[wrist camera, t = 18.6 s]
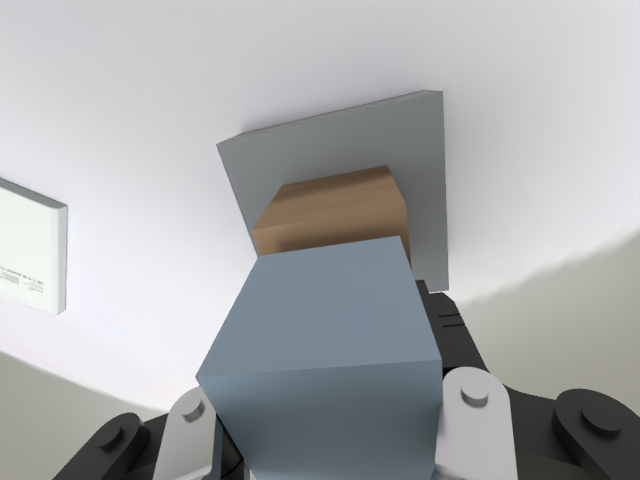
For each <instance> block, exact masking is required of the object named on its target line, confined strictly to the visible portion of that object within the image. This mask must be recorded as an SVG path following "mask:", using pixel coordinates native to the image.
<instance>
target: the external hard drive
mask: <svg viewBox="0 0 640 480" xmlns="http://www.w3.org/2000/svg"><path fill="white" fill-rule="evenodd" d="M66 247H67V205H64V204H62V203H60V202H57V201H55V200H52V199H50V198H47V197H45V196H42V195H40V194H38V193H35V192H33V191H30V190H28V189H25V188H23V187H21V186H18V185H16V184H13V183H11V182H8V181H6V180H4V179H1V178H0V296H3V297H6V298H8V299H11V300H14V301H16V302H19V303H22V304H24V305H27V306H30V307H32V308H35V309H38V310H41V311H43V312H46V313H49V314H52V315H59V314H60V313H61V312H63V311H64V310H65V298H66Z"/></svg>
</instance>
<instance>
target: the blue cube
mask: <svg viewBox="0 0 640 480" xmlns="http://www.w3.org/2000/svg"><path fill="white" fill-rule="evenodd" d="M195 377H196V379H197V381H198V383H199V384H200V386H201V388H202V389H203V391H204V393H205V394H206V396H207V398H208V399H209V401H210V403H211V404H212V406H213V408H214V409H215V411H216V413H217V414H218V416H219V418H220V419H221V421H222V423H223V424H224V426H225V428H226V429H227V431H228V433H229V434H230V436H231V438H232V439H233V441H234V443H235V444H236V446H237V448H238V449H239V451H240V453H241V454H242V456H243V458H244V459H245V461H246V463H247V464H248V466H249V468H250V469H251V471H252V473H253V474H254V476H255V478H256V479H257V480H430V479H431V475H432V473H433V471H434V465H435V455H436V445H437V434H438V424H439V413H440V403H441V402H443V378H442V358H441V355H440V353H439V350H438V347H437V344H436V341H435V338H434V335H433V332H432V329H431V326H430V323H429V320H428V317H427V315H426V312H425V309H424V306H423V303H422V300H421V297H420V294H419V291H418V288H417V285H416V282H415V279H414V277H413V274H412V271H411V268H410V265H409V262H408V259H407V256H406V253H405V250H404V247H403V244H402V241H401V239H400V236H393V237H386V238H379V239H372V240H366V241H359V242H352V243H345V244H338V245H331V246H324V247H317V248H310V249H303V250H297V251H290V252H283V253H276V254H269V255H262V256H259V257H258V259H257V261H256V263H255V265H254V266H253V268H252V270H251V272H250V274H249V276H248V278H247V280H246V282H245V284H244V285H243V287H242V289H241V291H240V293H239V295H238V297H237V299H236V301H235V303H234V304H233V306H232V308H231V310H230V312H229V314H228V316H227V318H226V320H225V321H224V323H223V325H222V327H221V329H220V331H219V333H218V335H217V337H216V339H215V340H214V342H213V344H212V346H211V348H210V350H209V352H208V354H207V356H206V358H205V359H204V361H203V363H202V365H201V367H200V369H199V371H198V373H197V375H196V376H195Z"/></svg>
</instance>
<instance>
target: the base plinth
mask: <svg viewBox="0 0 640 480" xmlns="http://www.w3.org/2000/svg"><path fill="white" fill-rule="evenodd" d="M216 145H217V148H218V151H219V154H220V156H221V159H222V162H223V164H224V167H225V170H226V173H227V175H228V178H229V181H230V183H231V186H232V189H233V192H234V194H235V197H236V200H237V202H238V205H239V208H240V211H241V213H242V216H243V219H244V221H245V224H246V227H247V230H248V232H249V235H250V238H251V240H252V243H253V246H254V249H255V251H256V254H257V257H259V256H261V255H260V252H259V249H258V246H257V244H256V241H255V238H254V235H253V232H252V229H253V227H254V226H255V225H256V223H257V222H258V220H259V219H260V217H261V216H262V214H263V213H264V211H265V210H266V208H267V207H268V205H269V204H270V202H271V201H272V200H273V198H274V197H275V195H276V194H277V192H278V191H279V189H280V188H281V186H282V185H287V184H292V183H297V182H302V181H307V180H312V179H318V178H323V177H328V176H333V175H338V174H343V173H349V172H354V171H359V170H364V169H369V168H374V167H380V166H385V165H387V166H388V169H389V171H390V173H391V175H392V177H393V179H394V181H395V183H396V185H397V187H398V189H399V191H400V193H401V195H402V197H403V199H404V202H405V204H406V212H407V223H408V233H409V244H410V255H411V266H412V274H413V277H414V279H415V280H424V281H425V284H426V286H427V289H428V291H429V292H437V291H445V290H449V281H448V248H447V216H446V183H445V151H444V118H443V91H426V90H423V91H419V92H415V93H411V94H407V95H402V96H398V97H394V98H390V99H386V100H381V101H377V102H373V103H369V104H364V105H360V106H356V107H352V108H348V109H343V110H339V111H335V112H331V113H327V114H322V115H318V116H314V117H310V118H305V119H301V120H297V121H293V122H289V123H284V124H280V125H276V126H272V127H267V128H263V129H259V130H255V131H251V132H246V133H242V134H239V135H237V136H234V137H232V138H230V139H227V140H225V141H223V142H220V143H218V144H216Z"/></svg>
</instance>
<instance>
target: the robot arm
mask: <svg viewBox="0 0 640 480" xmlns="http://www.w3.org/2000/svg"><path fill="white" fill-rule="evenodd" d="M415 282H416V285H417V288H418V291H419V294H420V297H421V300H422V303H423V306H424V309H425V312H426V315H427V317H428V320H429V323H430V326H431V329H432V332H433V335H434V338H435V341H436V344H437V347H438V350H439V353H440V355H441V358H442V378H443V402H441V403H440V413H439V424H438V434H437V445H436V455H435V465H434V471H433V473H432V475H431V479H430V480H640V417H639V416H638V415H636V414H635V413H634V412H633V411H632V410H630V409H629V408H628V407H626V406H625V405H624V404H622V403H620V402H619V401H617V400H615V399H613V398H611V397H609V396H607V395H605V394H602V393H599V392H596V391H592V390H588V389H571V390H567V391H564V392H562V393H561V394H560V395H559V396H558V397H557V399H556V400H553V399H548V398H543V397H538V396H534V395H529V394H525V393H522V392H518V391H516V390H513V389H511V388H509V387H507V386H505V385H504V384H502V383H501V382H500V381H499V380H498V379H497V378H496V377H494V376H493V375H492V374H491V373H490V372H489V371H488V369H487V368H486V366H485V364H484V362H483V360H482V358H481V356H480V354H479V352H478V350H477V348H476V346H475V344H474V341H473V339H472V337H471V335H470V334H469V331H468V329H467V327H466V326H465V323H464V321H463V319H462V317H461V316H460V313H459V311H458V309H457V307H456V305H455V303H454V301H453V300H451V299H450V298H449V297H448V296H447V295H445V294H444V293H443V292H440V293H431V294H429V291H428V289H427V286H426V284H425V281H424V280H415ZM52 480H250V468H249V466H248V464H247V463H246V461H245V459H244V458H243V456H242V454H241V453H240V451H239V449H238V448H237V446H236V444H235V443H234V441H233V439H232V438H231V436H230V434H229V433H228V431H227V429H226V428H225V426H224V424H223V423H222V421H221V419H220V418H219V416H218V414H217V413H216V411H215V409H214V408H213V406H212V404H211V403H210V401H209V399H208V398H207V396H206V394H205V393H204V391H203V389H202V388H201V386H200V385H199V387H196V388H194V389H191V390H190V391H188V392H186V393H185V394H184V395H183V396H181V397H180V398H179V399H178V400H177V401H176V403H175V404H174V405H173V407H172V408H171V410H170V412H169V413H167V414H164V415H162V416H159V417H157V418H154V419H151V420H149V421H146V422H142V421H141V419H140V418H139V417H138V416H137V415H136V414H134V413H125V414H121V415H119V416H117V417H115V418H113V419H111V420H110V421H108V422H107V423H106V424H104V425H103V426H102V427H101V428H100V429H99V430H98V431H97V432H96V433H95V434H94V435H93V436H92V437H91V438H90V439H89V440H88V442H87V443H86V444H85V445H84V446H83V447H82V448H81V449H80V450H79V451H78V452H77V453H76V455H74V457H73V458H72V459H71V460H70V461H69V462H68V463H67V464H66V465H65V466H64V467H63V469H62V470H61V471H60V472H59V473H58V474H57V475H56V476H55V477H54V478H53V479H52Z"/></svg>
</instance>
